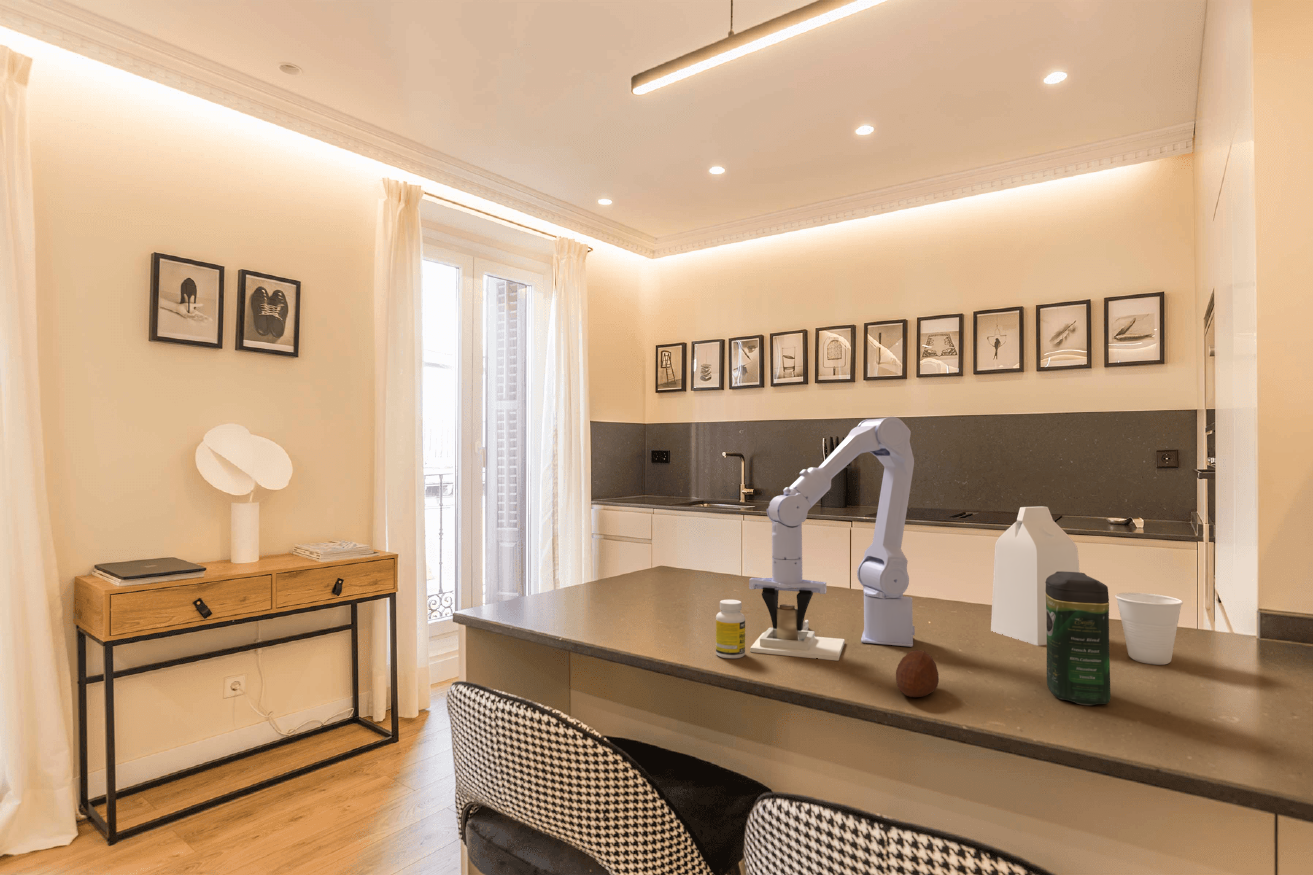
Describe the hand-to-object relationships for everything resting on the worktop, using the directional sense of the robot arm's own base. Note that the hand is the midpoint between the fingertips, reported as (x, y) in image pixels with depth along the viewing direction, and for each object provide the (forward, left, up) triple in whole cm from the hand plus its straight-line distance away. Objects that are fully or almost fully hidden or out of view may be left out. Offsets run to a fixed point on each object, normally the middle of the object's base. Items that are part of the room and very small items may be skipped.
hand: (787, 628), depth 131 cm
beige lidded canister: (0, +1, -2) cm, 3 cm away
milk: (-46, -25, -4) cm, 52 cm away
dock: (-2, -5, -3) cm, 6 cm away
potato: (-23, +19, -4) cm, 30 cm away
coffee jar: (-46, +12, -4) cm, 48 cm away
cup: (-62, -13, -4) cm, 63 cm away
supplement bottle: (+9, +9, -4) cm, 13 cm away
